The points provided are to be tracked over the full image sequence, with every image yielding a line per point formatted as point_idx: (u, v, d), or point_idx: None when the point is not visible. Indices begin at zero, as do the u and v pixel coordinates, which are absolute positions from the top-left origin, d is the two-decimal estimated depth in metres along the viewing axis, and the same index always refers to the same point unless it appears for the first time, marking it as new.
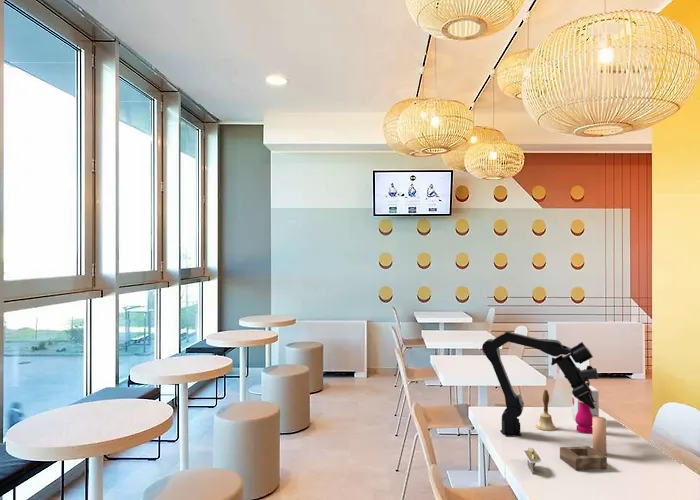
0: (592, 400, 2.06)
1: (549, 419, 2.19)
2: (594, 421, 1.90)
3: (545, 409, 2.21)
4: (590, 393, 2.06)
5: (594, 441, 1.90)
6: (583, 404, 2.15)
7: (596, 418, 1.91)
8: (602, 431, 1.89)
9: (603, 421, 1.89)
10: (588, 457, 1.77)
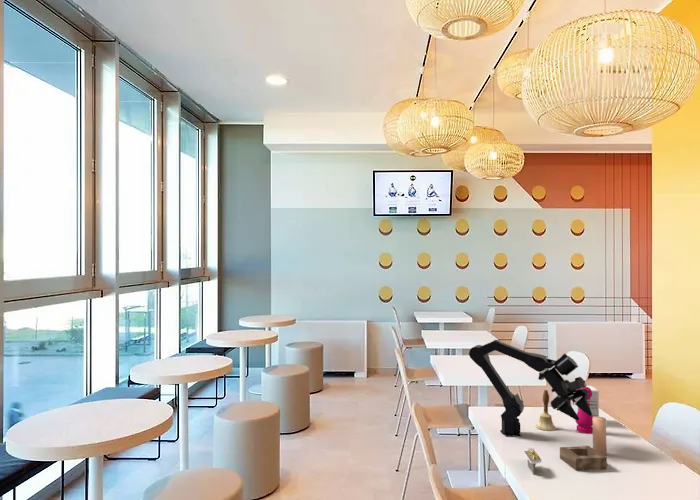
0: (589, 413, 1.98)
1: (549, 419, 2.19)
2: (594, 421, 1.90)
3: (545, 409, 2.21)
4: (587, 406, 2.00)
5: (594, 441, 1.90)
6: None
7: (596, 418, 1.91)
8: (602, 431, 1.89)
9: (603, 421, 1.89)
10: (588, 457, 1.77)
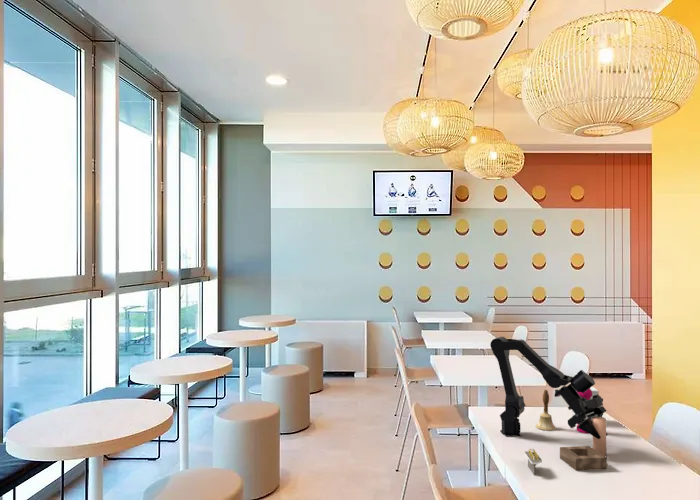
0: None
1: (549, 419, 2.19)
2: (594, 421, 1.90)
3: (545, 409, 2.21)
4: None
5: (594, 441, 1.90)
6: None
7: (596, 418, 1.91)
8: (602, 431, 1.89)
9: (603, 421, 1.89)
10: (588, 457, 1.77)
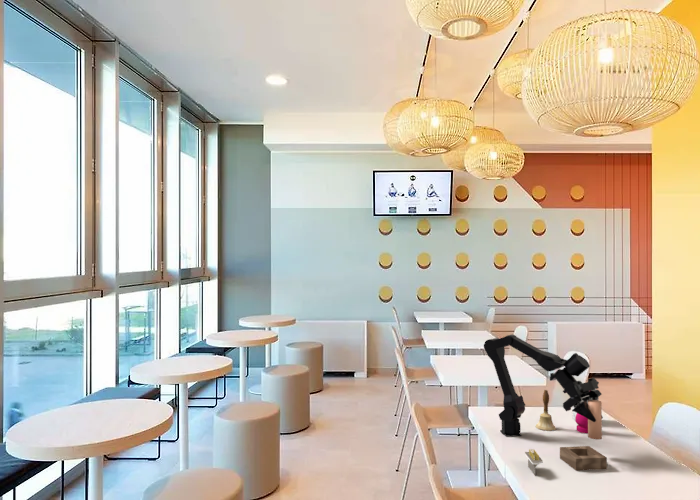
0: None
1: (549, 419, 2.19)
2: (589, 404, 1.88)
3: (545, 409, 2.21)
4: None
5: (589, 424, 1.88)
6: None
7: (591, 401, 1.89)
8: (597, 414, 1.86)
9: (598, 404, 1.87)
10: (588, 457, 1.77)
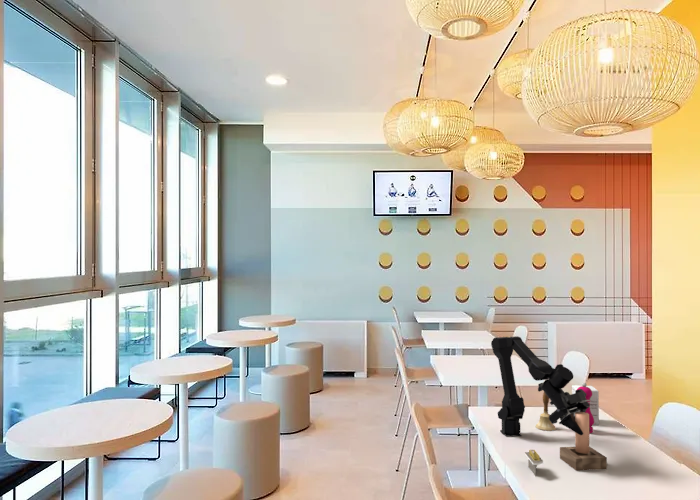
0: None
1: None
2: (577, 417, 1.81)
3: (545, 409, 2.21)
4: None
5: (577, 437, 1.81)
6: None
7: (579, 413, 1.82)
8: (585, 428, 1.80)
9: (586, 416, 1.80)
10: (588, 457, 1.77)
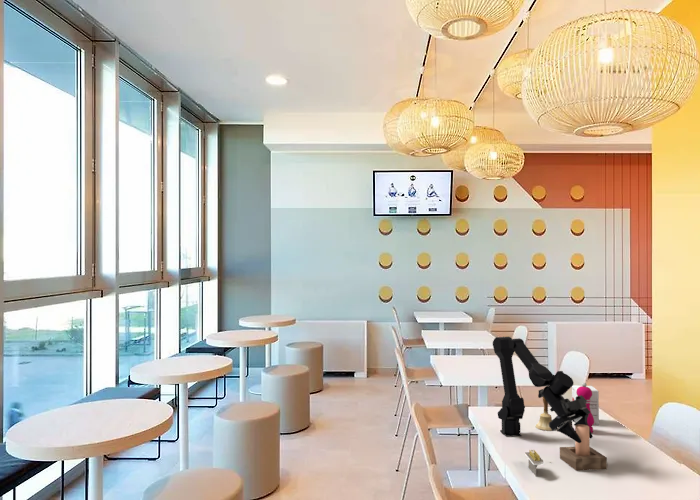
0: (590, 435, 1.83)
1: (549, 419, 2.19)
2: (577, 429, 1.81)
3: (545, 409, 2.21)
4: None
5: (577, 450, 1.81)
6: None
7: (579, 426, 1.82)
8: (585, 440, 1.80)
9: (586, 429, 1.80)
10: (588, 457, 1.77)
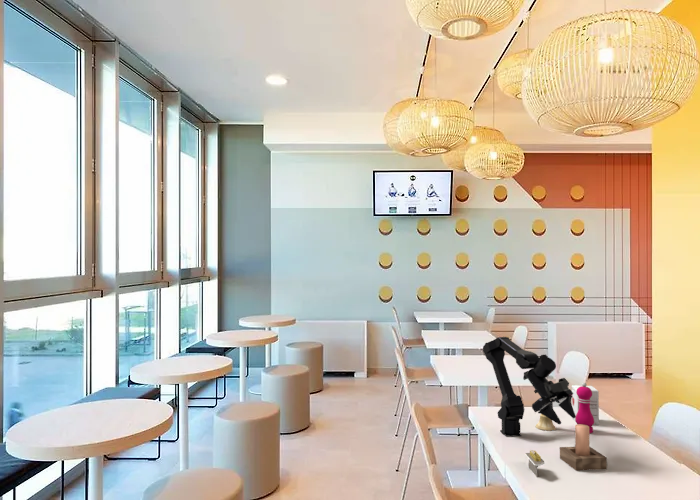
0: (573, 415, 1.90)
1: (549, 419, 2.19)
2: (577, 429, 1.81)
3: None
4: (570, 408, 1.91)
5: (577, 450, 1.81)
6: (583, 404, 2.15)
7: (579, 426, 1.82)
8: (585, 440, 1.80)
9: (586, 429, 1.80)
10: (588, 457, 1.77)
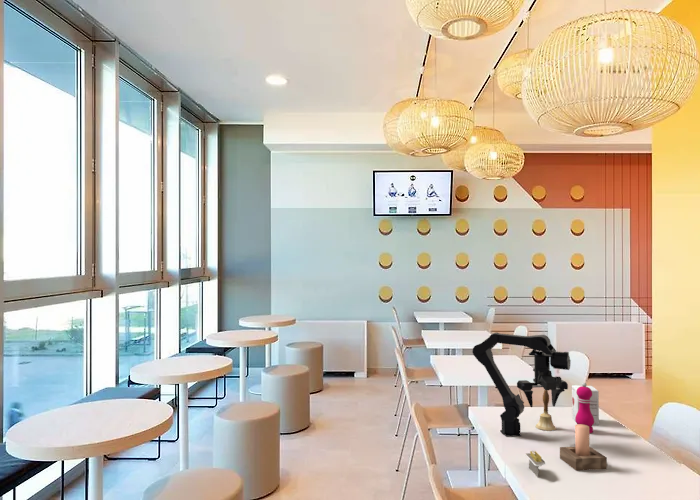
0: (553, 404, 2.07)
1: (549, 419, 2.19)
2: (577, 429, 1.81)
3: (545, 409, 2.21)
4: (555, 398, 2.06)
5: (577, 450, 1.81)
6: (583, 404, 2.15)
7: (579, 426, 1.82)
8: (585, 440, 1.80)
9: (586, 429, 1.80)
10: (588, 457, 1.77)
